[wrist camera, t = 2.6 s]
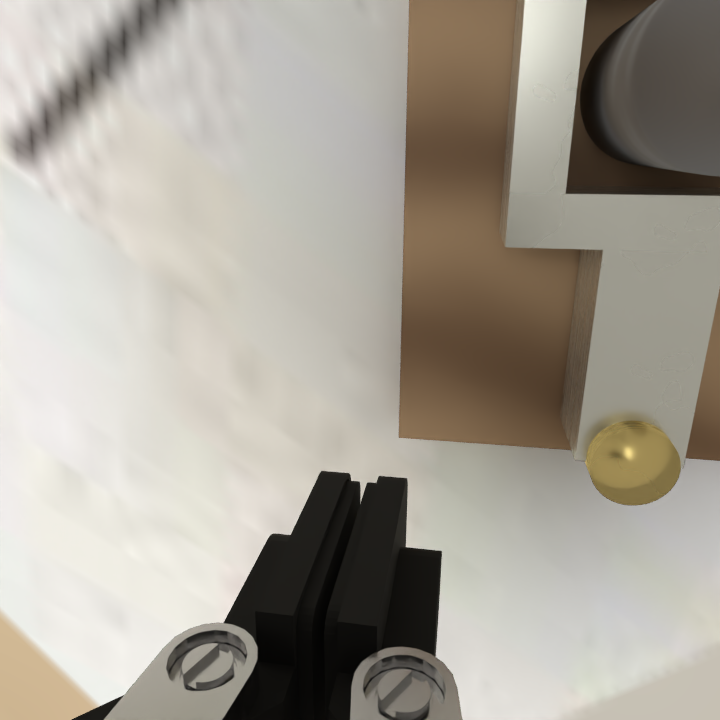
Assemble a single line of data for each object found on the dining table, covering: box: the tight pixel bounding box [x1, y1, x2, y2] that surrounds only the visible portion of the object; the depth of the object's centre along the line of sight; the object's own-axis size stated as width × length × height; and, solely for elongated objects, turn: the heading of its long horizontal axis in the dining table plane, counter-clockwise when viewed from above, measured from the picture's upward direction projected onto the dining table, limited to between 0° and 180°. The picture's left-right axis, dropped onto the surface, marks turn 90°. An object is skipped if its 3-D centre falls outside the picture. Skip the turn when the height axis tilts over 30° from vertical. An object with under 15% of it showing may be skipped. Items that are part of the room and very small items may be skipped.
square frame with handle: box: [499, 0, 720, 505], centre depth 17 cm, size 15×8×4 cm, turn 0°
